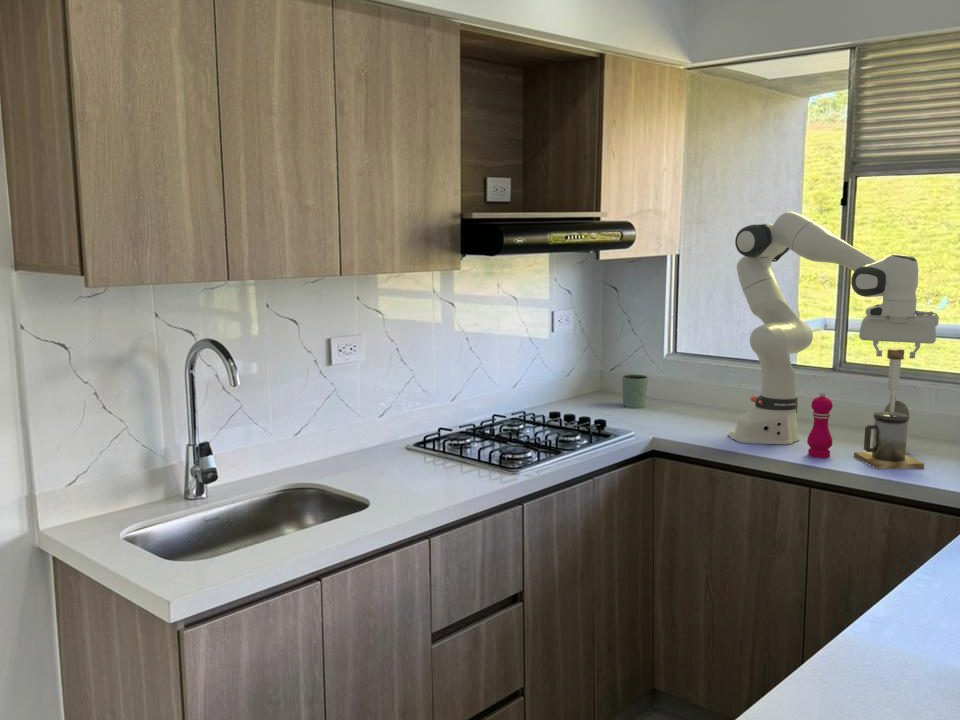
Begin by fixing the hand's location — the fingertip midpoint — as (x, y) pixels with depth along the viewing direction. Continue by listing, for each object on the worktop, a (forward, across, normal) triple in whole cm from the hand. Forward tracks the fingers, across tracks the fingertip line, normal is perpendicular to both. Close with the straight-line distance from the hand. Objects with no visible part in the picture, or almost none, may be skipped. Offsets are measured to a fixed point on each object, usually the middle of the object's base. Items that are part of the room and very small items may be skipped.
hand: (895, 357), depth 252 cm
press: (+30, +1, +1) cm, 30 cm away
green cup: (+32, +92, -47) cm, 108 cm away
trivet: (+32, 0, 0) cm, 32 cm away
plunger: (+10, 0, 0) cm, 10 cm away
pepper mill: (+32, +19, +1) cm, 37 cm away
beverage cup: (+32, -1, -18) cm, 37 cm away
